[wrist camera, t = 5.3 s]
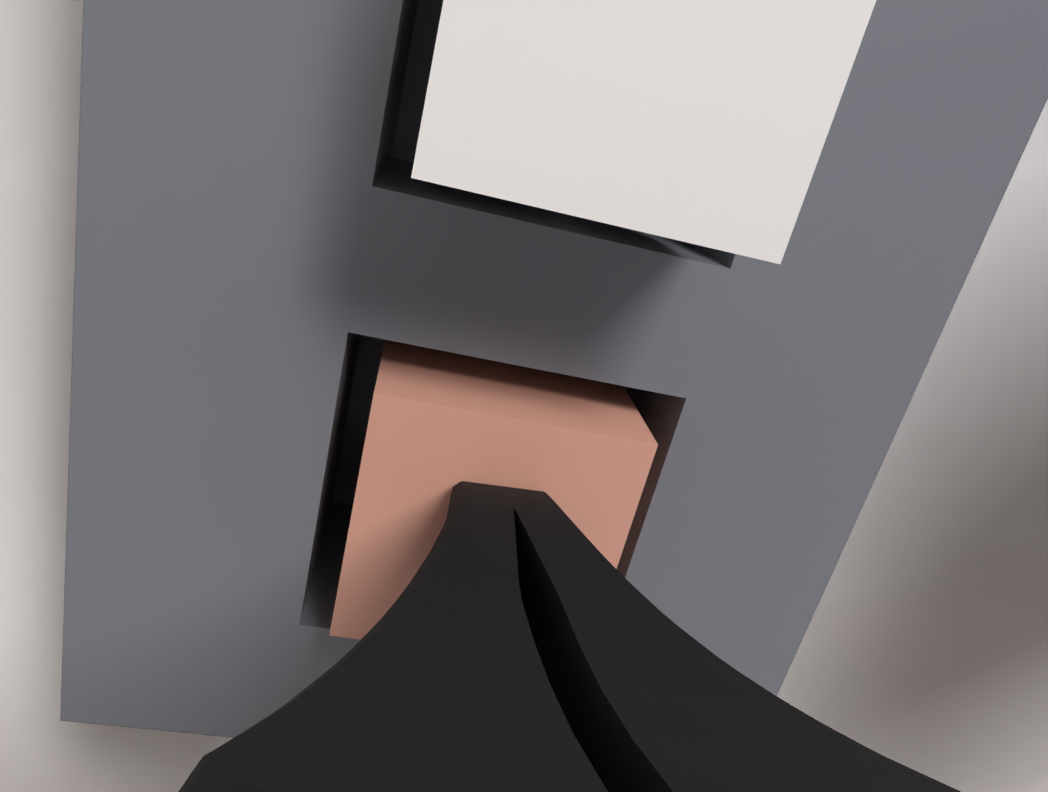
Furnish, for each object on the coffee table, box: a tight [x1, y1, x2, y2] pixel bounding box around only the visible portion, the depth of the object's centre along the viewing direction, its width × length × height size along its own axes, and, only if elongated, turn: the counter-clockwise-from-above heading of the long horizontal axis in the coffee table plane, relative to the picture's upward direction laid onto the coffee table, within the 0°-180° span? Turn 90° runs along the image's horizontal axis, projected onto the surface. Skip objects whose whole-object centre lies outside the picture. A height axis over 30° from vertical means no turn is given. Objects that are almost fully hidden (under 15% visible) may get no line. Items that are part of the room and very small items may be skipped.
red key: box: [329, 340, 658, 639], centre depth 13 cm, size 4×4×3 cm
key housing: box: [60, 0, 1048, 738], centre depth 11 cm, size 12×24×4 cm, turn 167°
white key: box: [411, 0, 876, 264], centre depth 9 cm, size 4×4×3 cm
